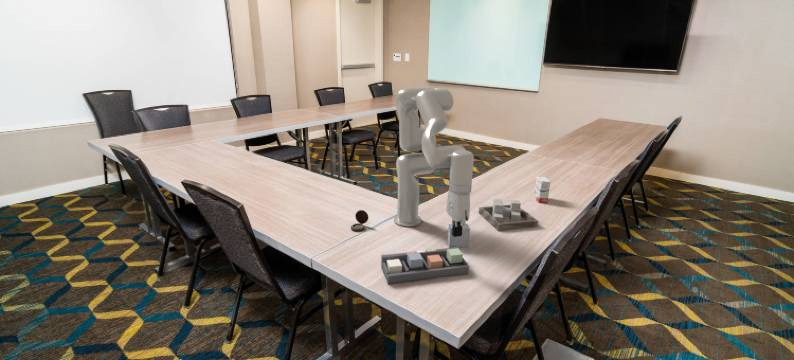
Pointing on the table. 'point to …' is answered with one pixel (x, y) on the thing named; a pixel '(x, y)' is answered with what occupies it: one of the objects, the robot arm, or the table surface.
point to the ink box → (542, 189)
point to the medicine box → (459, 237)
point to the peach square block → (434, 261)
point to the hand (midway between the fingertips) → (456, 235)
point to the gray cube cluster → (506, 210)
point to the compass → (360, 221)
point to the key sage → (454, 255)
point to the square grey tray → (528, 222)
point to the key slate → (415, 260)
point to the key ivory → (394, 266)
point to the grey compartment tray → (425, 271)
